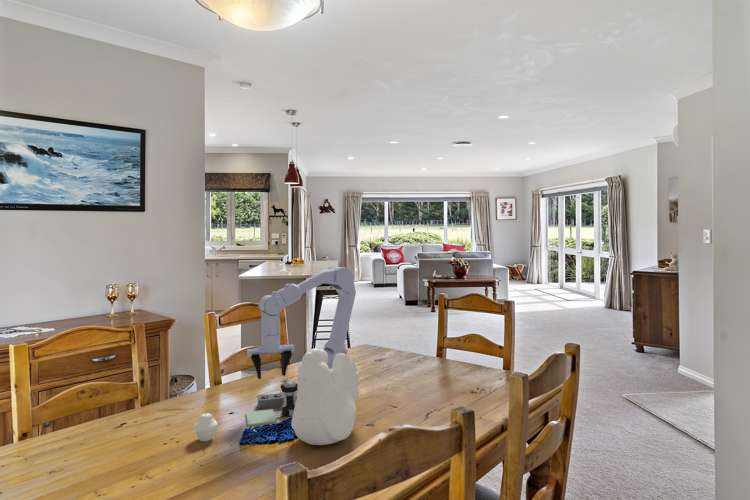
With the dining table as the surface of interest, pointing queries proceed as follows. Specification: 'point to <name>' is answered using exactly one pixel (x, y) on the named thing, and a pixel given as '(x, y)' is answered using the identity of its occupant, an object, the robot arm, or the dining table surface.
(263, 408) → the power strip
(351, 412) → the white rounded upright lump
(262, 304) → the robot arm
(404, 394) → the dining table surface
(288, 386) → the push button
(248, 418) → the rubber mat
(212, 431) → the grey rounded lump
